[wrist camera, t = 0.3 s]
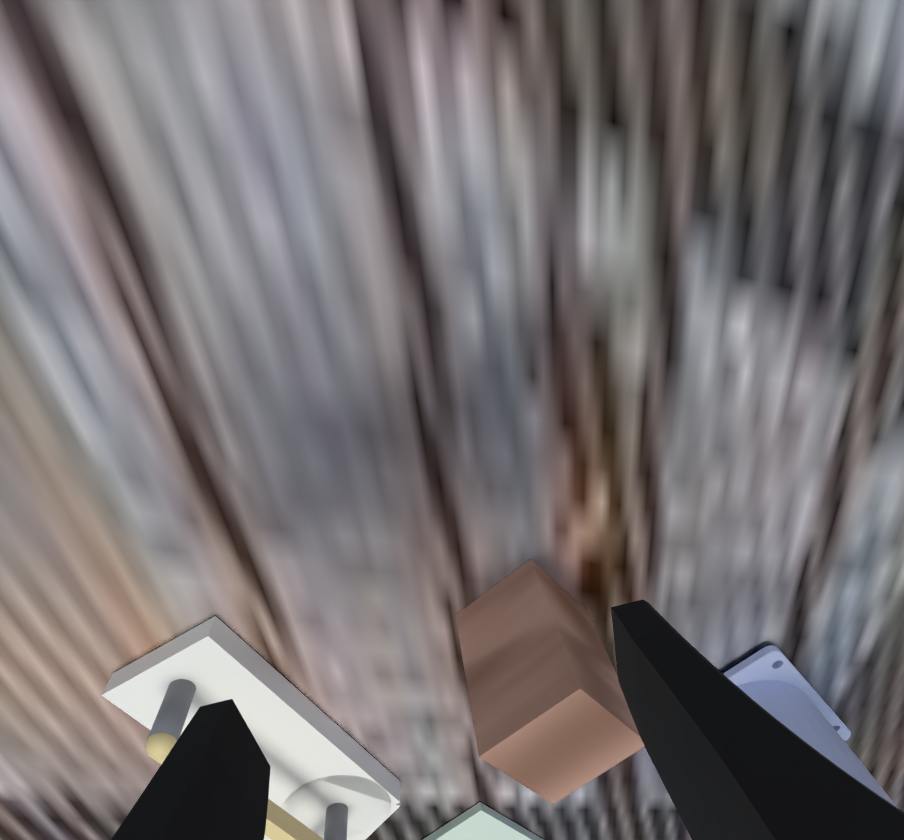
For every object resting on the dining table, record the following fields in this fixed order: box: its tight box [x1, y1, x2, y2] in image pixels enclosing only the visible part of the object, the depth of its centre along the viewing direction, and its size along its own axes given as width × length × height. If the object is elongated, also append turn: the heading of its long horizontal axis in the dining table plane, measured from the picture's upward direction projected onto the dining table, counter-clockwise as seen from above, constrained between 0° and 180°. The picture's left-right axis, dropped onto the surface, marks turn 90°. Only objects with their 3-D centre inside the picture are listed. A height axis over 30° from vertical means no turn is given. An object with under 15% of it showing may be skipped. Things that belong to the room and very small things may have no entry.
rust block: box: [455, 559, 645, 804], centre depth 20 cm, size 4×4×6 cm
